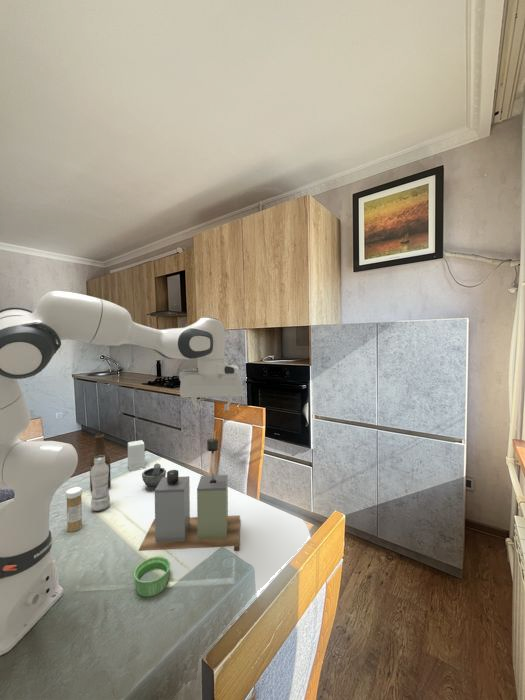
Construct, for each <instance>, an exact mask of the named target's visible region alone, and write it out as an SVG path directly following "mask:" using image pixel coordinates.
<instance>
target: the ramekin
mask: <svg viewBox="0 0 525 700" xmlns="http://www.w3.org/2000/svg"><path fill="white" fill-rule="evenodd" d="M156 569H157V570H163V571H164V572H165V573H164V574H163V575H161V576H160V577H158V578H156V579H152V580H147V581H146V580H145V581H144V580H140V578H141V577H142V576H143V575H144V574H146V573H147V572H148V571H152V570H156ZM170 570H171V562H170V560H169V559H168V558H167V557H164V556H160V555H159V556H157V555H156V556H152V557H148V558H146V559H144V560H142V561H141V562H140V563H139V564H137V566H135V568H134V571H133V578H134V583H135V590H136V592H137V594H138V596H139V595H140V596H141V597H147V598H148V597H154V596H155V595H158V594H160V593H161V592H163V591H164V590H165V589H166V588H167V586H168V583H169V576H170Z"/></svg>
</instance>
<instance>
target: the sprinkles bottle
mask: <svg viewBox="0 0 525 700" xmlns="http://www.w3.org/2000/svg"><path fill="white" fill-rule="evenodd" d="M82 489H83V488H82V487H80V486H74V487H71V488H69V489H67V490H66V491H65V497H66V498H65V499H66V525H67V526H66V531H67V532H69V533H72V532H76V531H79V530H80V529H81V528H82V527H83V519H82V518H83V509H82V508H83V505H82V504H83V502H82V495H83V494H82V493H83V490H82Z"/></svg>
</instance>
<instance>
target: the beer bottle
mask: <svg viewBox="0 0 525 700" xmlns="http://www.w3.org/2000/svg"><path fill="white" fill-rule="evenodd" d="M105 437H106V436H105V434H102V433H99V434H96V435H95V436H94V439H95V440H94V441H95V442H94V454H93V455H92V457H91V459H90V461H89V472H90V471H91V469H92V467H93V466H94V464H95V463H94V458H95V457H96V456H100V455H104V456H105V463H106V464H107V465H108V467H109V475H108V491H109V490H110V488H111V483H112V482H111V479H112V477H111V459H110V457H109V455H108V454H107V453H106V448H105V446H106V445H105ZM89 487H90V488H89V489H90V492H91V493H92V481H91V476H90V475H89Z"/></svg>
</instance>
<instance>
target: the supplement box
mask: <svg viewBox="0 0 525 700" xmlns="http://www.w3.org/2000/svg"><path fill="white" fill-rule="evenodd" d="M145 446H146V445H145V442H144V441H143V440H142V439H139V440H134V441H130V442H129V441H128V442H127V468H128V471H129V472H132V470H133V471H137V470H136V469H138V470H141V469H140V468H143V469H145V468H146V461H145V459H146V458H145V457H146V453H145V450H146V449H145Z"/></svg>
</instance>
